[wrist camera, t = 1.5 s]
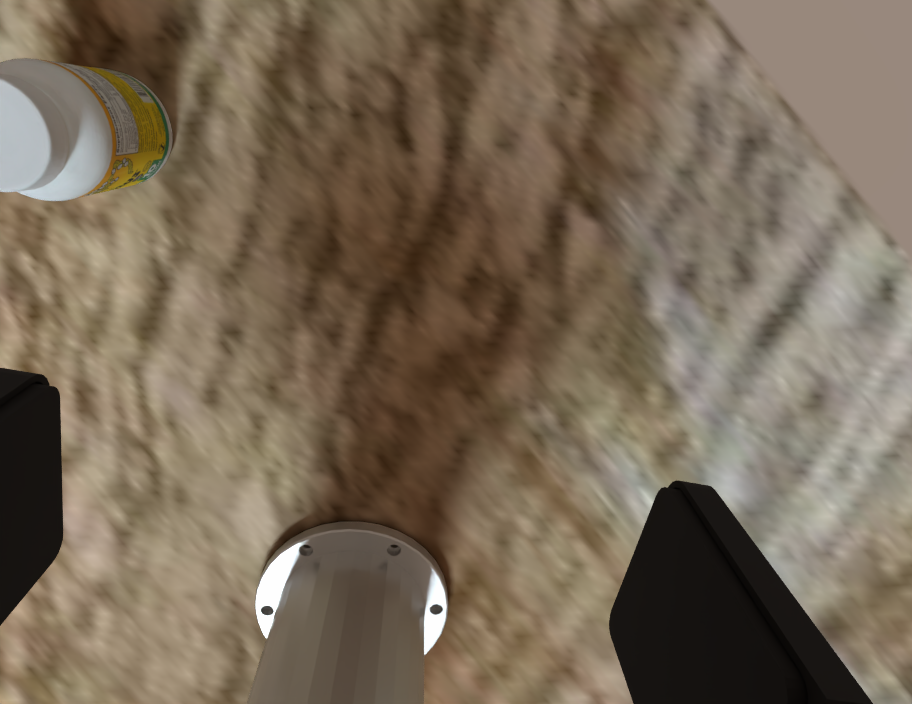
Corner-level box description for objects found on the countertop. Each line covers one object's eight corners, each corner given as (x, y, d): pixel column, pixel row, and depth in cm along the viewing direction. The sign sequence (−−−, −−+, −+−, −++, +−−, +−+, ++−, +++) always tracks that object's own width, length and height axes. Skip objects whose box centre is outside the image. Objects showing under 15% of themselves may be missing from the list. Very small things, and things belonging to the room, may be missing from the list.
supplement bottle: (159, 65, 30) (43, 42, 21) (187, 179, 32) (92, 203, 23) (48, 76, 30) (-117, 58, 21) (83, 190, 32) (-55, 218, 23)
